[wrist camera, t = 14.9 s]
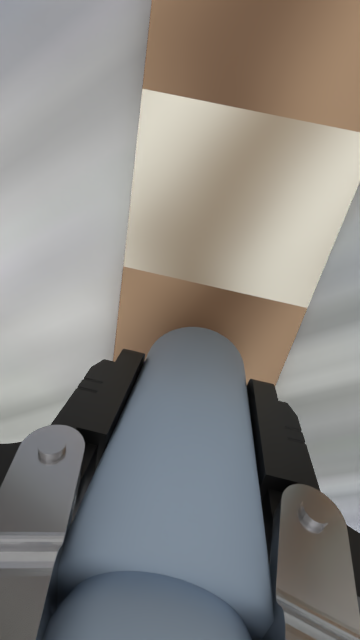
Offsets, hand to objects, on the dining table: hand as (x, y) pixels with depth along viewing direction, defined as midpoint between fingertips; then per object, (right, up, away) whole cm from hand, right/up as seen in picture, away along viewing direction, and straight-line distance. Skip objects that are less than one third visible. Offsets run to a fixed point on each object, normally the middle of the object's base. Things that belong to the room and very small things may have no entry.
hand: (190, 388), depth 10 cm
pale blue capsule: (0, 0, +1) cm, 1 cm away
